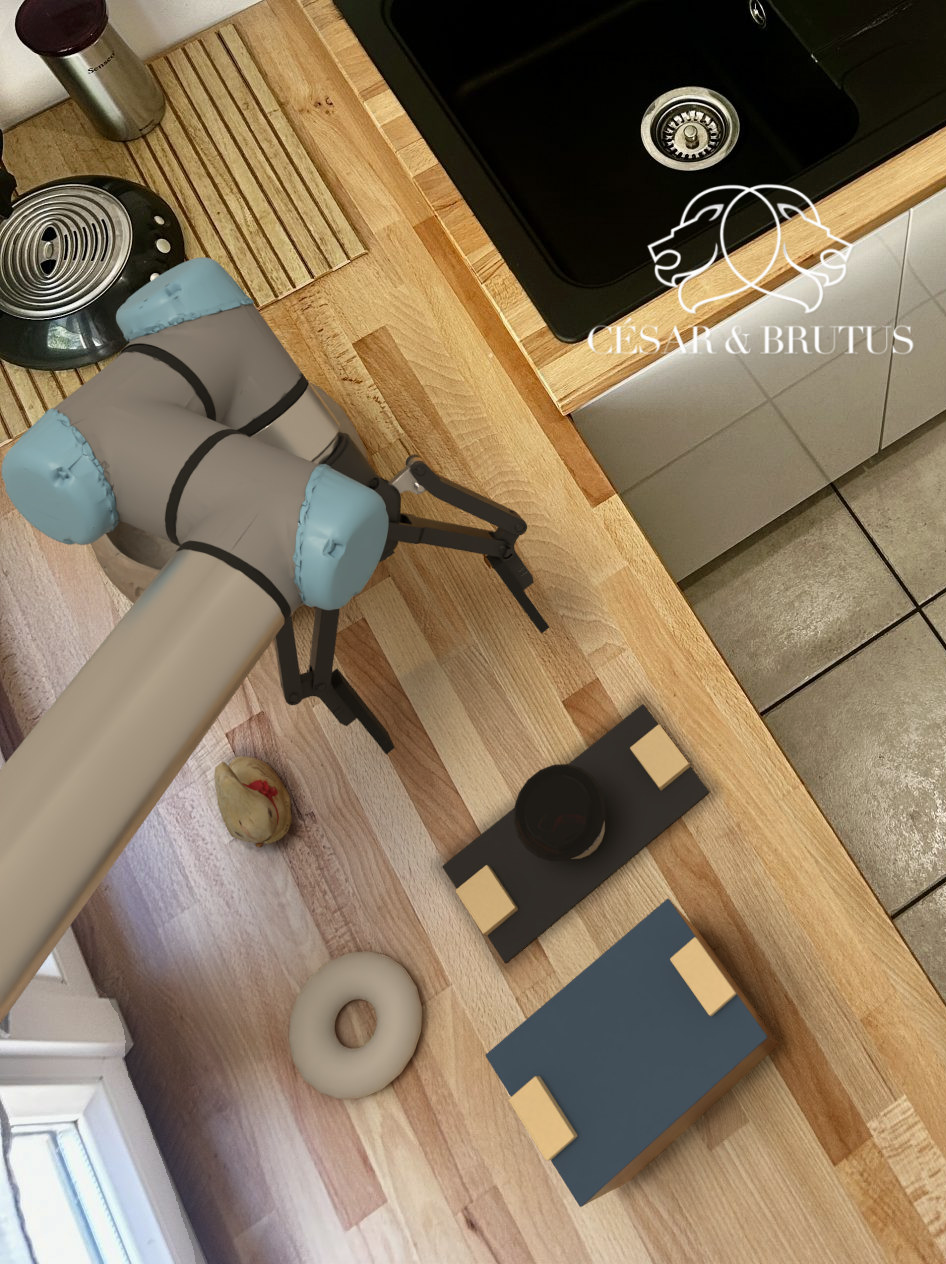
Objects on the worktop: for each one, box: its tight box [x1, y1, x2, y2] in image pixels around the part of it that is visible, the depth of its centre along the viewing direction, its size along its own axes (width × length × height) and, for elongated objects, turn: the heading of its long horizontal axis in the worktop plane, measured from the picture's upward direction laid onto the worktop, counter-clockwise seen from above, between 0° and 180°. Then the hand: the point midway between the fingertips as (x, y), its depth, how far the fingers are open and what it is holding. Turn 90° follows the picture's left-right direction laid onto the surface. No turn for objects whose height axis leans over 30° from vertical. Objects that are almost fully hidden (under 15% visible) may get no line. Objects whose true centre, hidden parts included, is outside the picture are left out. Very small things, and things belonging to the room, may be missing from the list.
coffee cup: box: [513, 763, 605, 861], centre depth 114 cm, size 7×7×10 cm
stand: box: [582, 902, 780, 1207], centre depth 101 cm, size 14×10×24 cm
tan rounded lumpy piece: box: [213, 755, 293, 848], centre depth 117 cm, size 6×8×10 cm
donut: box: [288, 950, 423, 1101], centre depth 112 cm, size 10×4×10 cm
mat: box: [442, 703, 710, 964], centre depth 118 cm, size 20×9×2 cm, turn 129°
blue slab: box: [485, 898, 767, 1208], centre depth 89 cm, size 14×10×2 cm
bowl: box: [90, 380, 370, 610], centre depth 126 cm, size 23×23×15 cm
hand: (465, 683), depth 109 cm, fingers open, 13 cm apart
